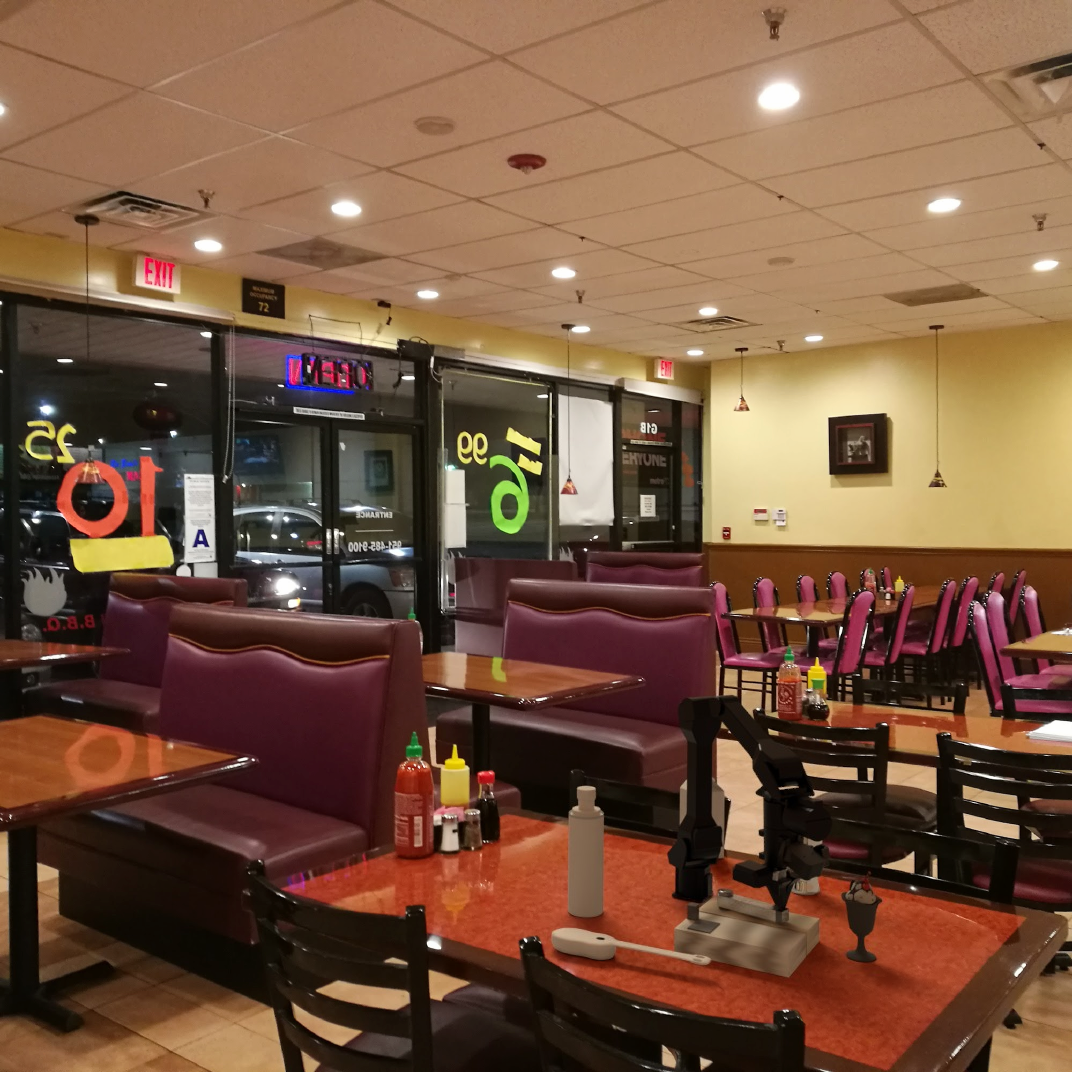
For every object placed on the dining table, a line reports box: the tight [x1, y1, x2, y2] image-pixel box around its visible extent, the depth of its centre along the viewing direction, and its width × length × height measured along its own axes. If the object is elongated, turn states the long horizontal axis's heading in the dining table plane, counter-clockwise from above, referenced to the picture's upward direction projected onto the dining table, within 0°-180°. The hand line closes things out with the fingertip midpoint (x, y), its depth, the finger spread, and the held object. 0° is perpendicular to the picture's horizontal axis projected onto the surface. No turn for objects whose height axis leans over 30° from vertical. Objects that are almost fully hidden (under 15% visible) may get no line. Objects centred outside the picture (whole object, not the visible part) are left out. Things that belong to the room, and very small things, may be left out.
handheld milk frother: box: [550, 927, 712, 966], centre depth 175 cm, size 28×6×3 cm, turn 65°
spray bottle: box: [567, 785, 605, 918], centre depth 198 cm, size 7×7×25 cm
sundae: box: [840, 871, 883, 963], centre depth 178 cm, size 7×7×15 cm
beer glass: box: [791, 837, 823, 896], centre depth 211 cm, size 7×7×15 cm
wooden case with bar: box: [673, 897, 820, 979], centre depth 182 cm, size 20×18×6 cm
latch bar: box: [716, 887, 790, 924], centre depth 186 cm, size 13×3×3 cm, turn 49°
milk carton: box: [679, 776, 725, 860], centre depth 233 cm, size 7×7×19 cm
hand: (781, 913), depth 184 cm, fingers closed
